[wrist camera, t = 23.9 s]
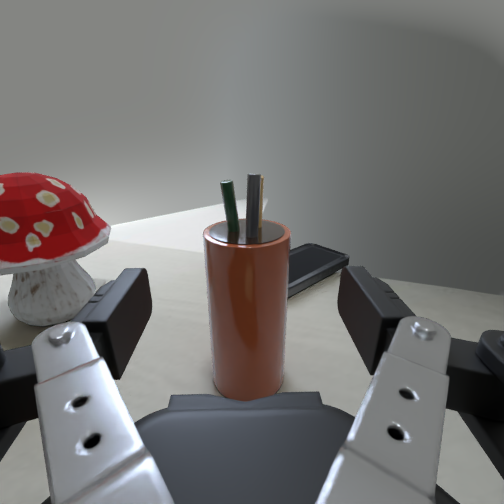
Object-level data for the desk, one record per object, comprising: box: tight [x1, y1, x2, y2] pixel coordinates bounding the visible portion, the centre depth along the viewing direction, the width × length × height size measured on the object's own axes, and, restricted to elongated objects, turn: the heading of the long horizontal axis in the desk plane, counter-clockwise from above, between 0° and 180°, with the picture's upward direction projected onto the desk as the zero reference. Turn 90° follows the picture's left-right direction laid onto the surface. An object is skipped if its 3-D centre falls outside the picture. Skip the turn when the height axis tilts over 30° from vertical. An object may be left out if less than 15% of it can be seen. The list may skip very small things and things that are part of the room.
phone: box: [288, 243, 349, 297], centre depth 41 cm, size 8×1×15 cm
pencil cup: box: [203, 174, 291, 402], centre depth 21 cm, size 6×6×16 cm
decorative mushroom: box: [0, 173, 111, 326], centre depth 30 cm, size 14×14×15 cm
